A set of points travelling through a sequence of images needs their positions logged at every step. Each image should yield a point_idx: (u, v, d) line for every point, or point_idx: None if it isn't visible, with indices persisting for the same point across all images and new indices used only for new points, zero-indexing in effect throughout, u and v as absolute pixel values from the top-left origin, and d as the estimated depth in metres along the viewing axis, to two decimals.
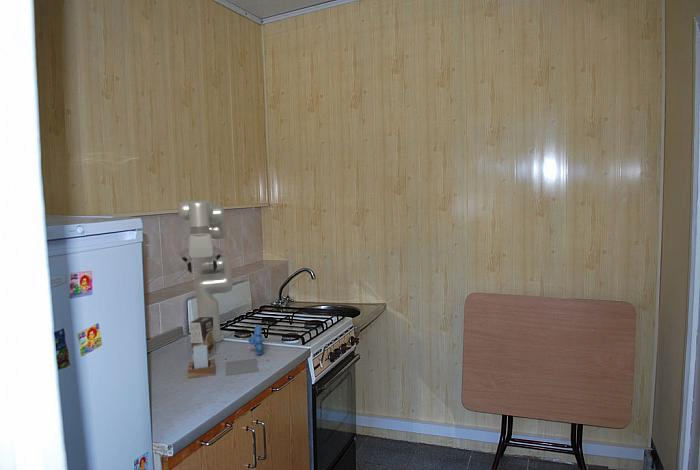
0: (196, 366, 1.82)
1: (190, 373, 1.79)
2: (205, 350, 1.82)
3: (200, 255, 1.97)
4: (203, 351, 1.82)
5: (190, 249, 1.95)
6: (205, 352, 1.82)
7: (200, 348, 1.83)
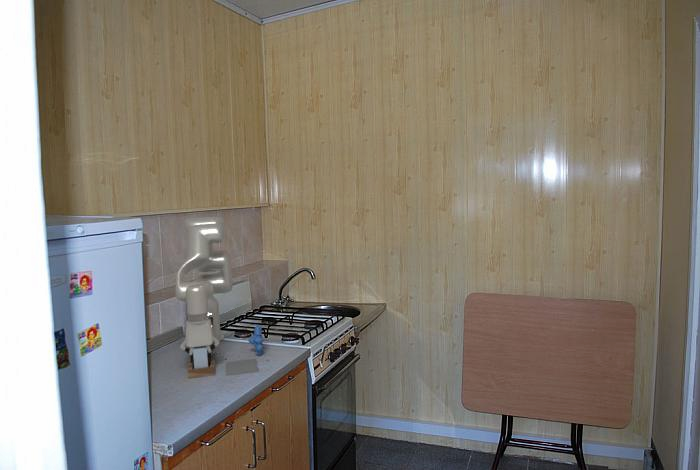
0: (196, 366, 1.82)
1: (190, 373, 1.79)
2: (205, 350, 1.82)
3: (198, 343, 1.82)
4: (203, 350, 1.82)
5: (187, 338, 1.81)
6: (205, 352, 1.82)
7: (200, 348, 1.83)
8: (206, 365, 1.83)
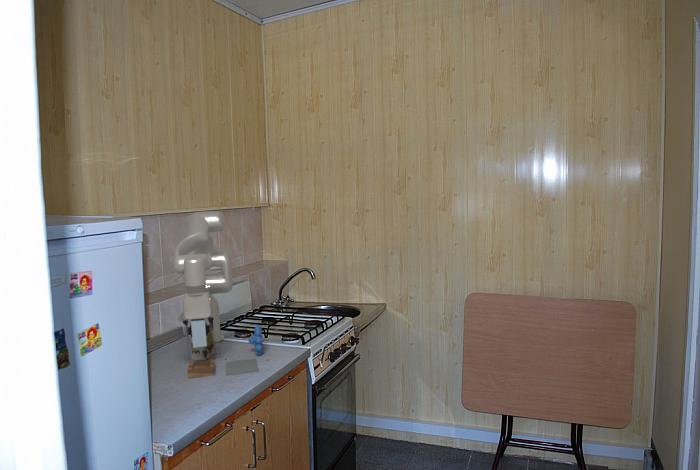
0: (194, 339, 1.81)
1: (190, 373, 1.79)
2: (203, 322, 1.82)
3: (196, 316, 1.81)
4: (201, 323, 1.81)
5: (185, 310, 1.80)
6: (203, 324, 1.82)
7: (198, 320, 1.82)
8: (204, 337, 1.82)
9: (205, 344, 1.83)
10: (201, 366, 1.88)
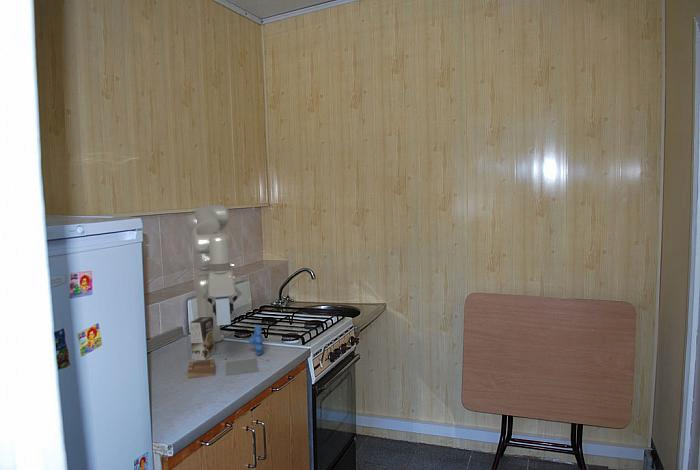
0: (218, 316, 1.83)
1: (190, 373, 1.79)
2: (227, 300, 1.83)
3: (221, 294, 1.83)
4: (226, 301, 1.83)
5: (210, 288, 1.81)
6: (227, 302, 1.83)
7: (223, 299, 1.83)
8: (228, 315, 1.83)
9: (229, 322, 1.84)
10: (201, 366, 1.88)
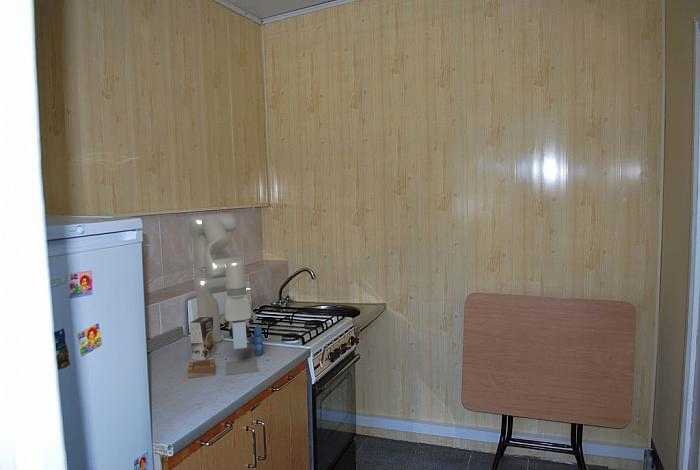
0: (235, 340, 1.85)
1: (190, 373, 1.79)
2: (244, 324, 1.85)
3: (237, 317, 1.85)
4: (242, 324, 1.85)
5: (227, 312, 1.84)
6: (243, 326, 1.85)
7: (239, 322, 1.85)
8: (245, 339, 1.86)
9: (246, 345, 1.86)
10: (201, 366, 1.88)
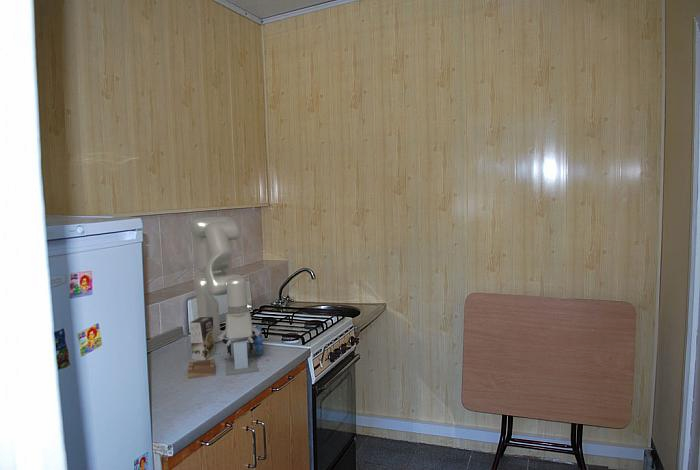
0: (236, 360, 1.86)
1: (190, 373, 1.79)
2: (245, 344, 1.86)
3: (238, 335, 1.86)
4: (243, 345, 1.86)
5: (228, 330, 1.84)
6: (244, 346, 1.86)
7: (240, 342, 1.86)
8: (246, 359, 1.87)
9: (246, 365, 1.87)
10: (201, 366, 1.88)
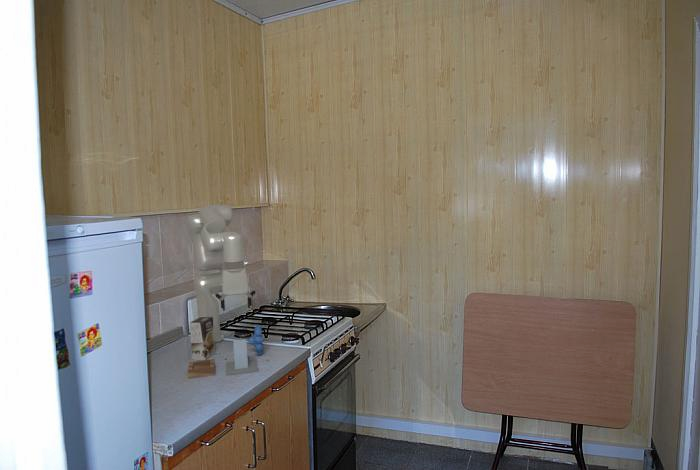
0: (236, 360, 1.86)
1: (190, 373, 1.79)
2: (245, 344, 1.86)
3: (234, 291, 1.84)
4: (243, 345, 1.86)
5: (224, 286, 1.83)
6: (244, 346, 1.86)
7: (240, 342, 1.86)
8: (246, 359, 1.87)
9: (246, 365, 1.87)
10: (201, 366, 1.88)
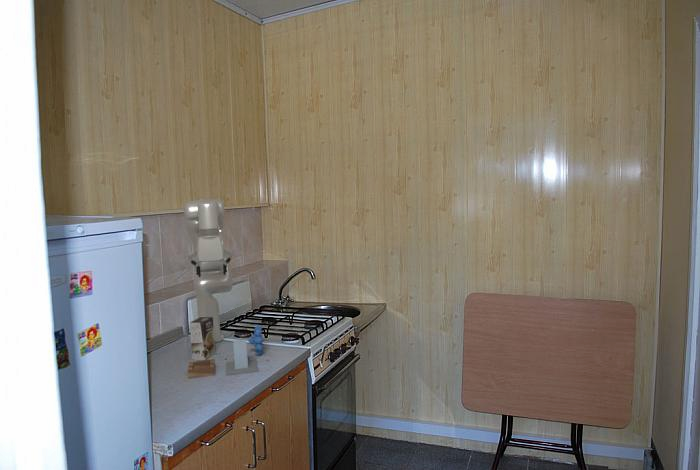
0: (236, 360, 1.86)
1: (190, 373, 1.79)
2: (245, 344, 1.86)
3: (209, 258, 1.88)
4: (243, 345, 1.86)
5: (199, 252, 1.87)
6: (244, 346, 1.86)
7: (240, 342, 1.86)
8: (246, 359, 1.87)
9: (246, 365, 1.87)
10: (201, 366, 1.88)
